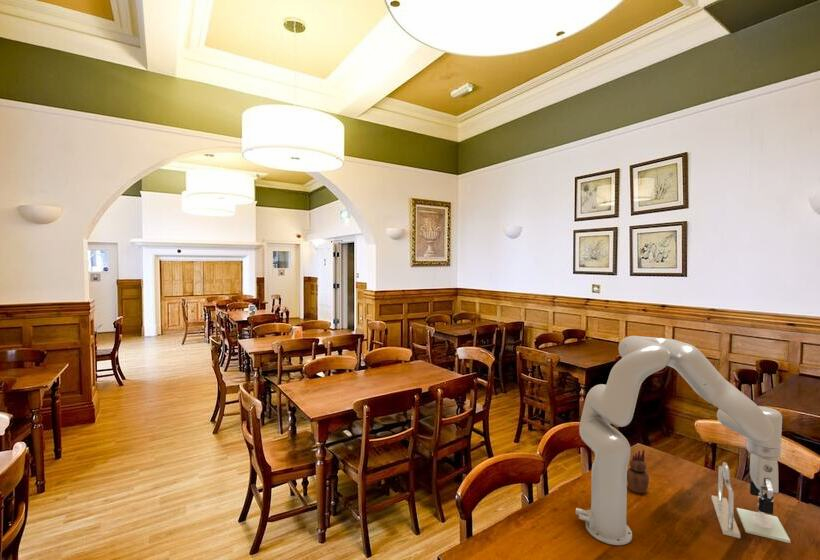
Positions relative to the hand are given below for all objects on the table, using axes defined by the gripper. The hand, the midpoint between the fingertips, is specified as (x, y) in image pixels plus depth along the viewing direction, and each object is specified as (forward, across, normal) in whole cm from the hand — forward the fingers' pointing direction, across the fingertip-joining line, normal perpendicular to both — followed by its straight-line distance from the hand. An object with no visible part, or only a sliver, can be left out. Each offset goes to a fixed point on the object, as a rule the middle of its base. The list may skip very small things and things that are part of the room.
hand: (760, 503), depth 123 cm
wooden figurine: (+8, +4, +32) cm, 34 cm away
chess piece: (+6, 0, 0) cm, 6 cm away
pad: (+7, 0, 0) cm, 7 cm away
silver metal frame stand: (+7, 0, +8) cm, 11 cm away
